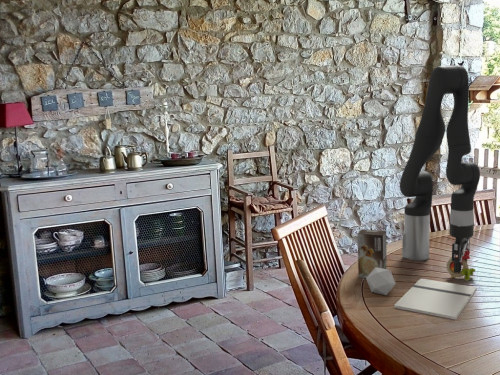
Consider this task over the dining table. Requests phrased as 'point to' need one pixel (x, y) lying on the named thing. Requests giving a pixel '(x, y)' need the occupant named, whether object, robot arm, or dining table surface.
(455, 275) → the bird rattle
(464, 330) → the dining table surface
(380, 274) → the die
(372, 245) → the coffee box
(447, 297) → the mat
